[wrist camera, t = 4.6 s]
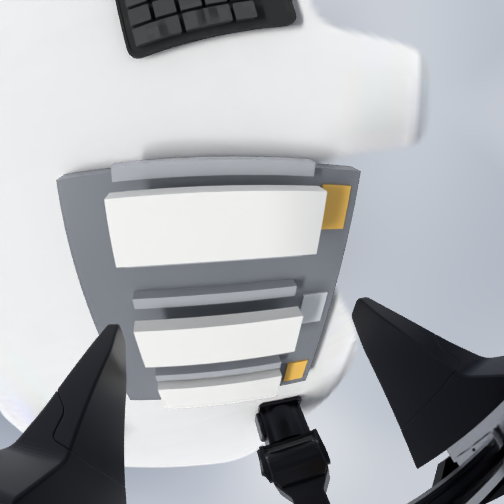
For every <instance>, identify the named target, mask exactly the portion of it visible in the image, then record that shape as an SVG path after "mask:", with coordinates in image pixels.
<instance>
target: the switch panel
mask: <svg viewBox="0 0 504 504" xmlns="http://www.w3.org/2000/svg"><path fill="white" fill-rule="evenodd" d="M359 178H360V171H359V170H357V169H355V168H353V167H350V166H340V165H328V164H316V162H314V161H312V160H310V159H301V158H282V157H235V156H233V157H187V158H168V159H153V160H141V161H130V162H120V163H114V164H113V165H112V166H111V168H107V169H99V170H92V171H84V172H78V173H71V174H65V175H63V176H62V177H60V178H59V179H57V180H56V181H57V188H58V194H59V200H60V205H61V211H62V216H63V221H64V225H65V230H66V234H67V238H68V242H69V246H70V250H71V254H72V258H73V261H74V265H75V268H76V272H77V275H78V278H79V281H80V285H81V288H82V291H83V294H84V297H85V299H86V302H87V305H88V308H89V311H90V313H91V316H92V319H93V321H94V324H95V326H96V329H97V331H98V334H99V335H100V333H101V332H102V331H103V330H104V328H105V327H106V326H107V325H108V324H119V325H120V327H121V330H122V333H123V336H124V339H125V343H126V380H127V385H126V393H127V394H128V396H129V398H130V400H160V399H161V397H160V394H159V392H158V381H170V380H186V379H198V378H209V377H219V376H227V375H235V374H243V373H250V372H257V371H263V370H269V369H275V368H279V369H280V372H281V375H282V378H281V382H280V386H281V385H286V384H291V383H296V382H300V381H305V380H306V378H307V375H308V372H309V369H310V366H311V363H312V361H313V358H314V355H315V352H316V349H317V346H318V343H319V340H320V337H321V333H322V330H323V327H324V324H325V321H326V317H327V314H328V311H329V307H330V304H331V300H332V297H333V293H334V290H335V286H336V282H337V278H338V274H339V271H340V266H341V263H342V259H343V255H344V251H345V246H346V242H347V238H348V233H349V229H350V224H351V219H352V215H353V210H354V205H355V200H356V194H357V189H358V184H359ZM224 185H305V186H320V187H321V188H323V189H324V190H326V191H327V197H326V203H325V209H324V215H323V221H322V227H321V232H320V238H319V243H318V249H317V254H311V255H297V256H283V257H270V258H255V259H241V260H227V261H212V262H197V263H182V264H166V265H151V266H135V267H119V268H116V264H115V259H114V255H113V250H112V245H111V239H110V234H109V228H108V222H107V216H106V209H105V202H104V199H105V198H106V196H107V195H108V194H109V193H112V192H123V191H134V190H146V189H160V188H176V187H195V186H224ZM295 306H298V307H299V309H300V311H301V313H302V314H303V319H302V323H301V327H300V331H299V336H298V340H297V344H296V347H295V351H294V352H289V353H283V354H277V355H271V356H265V357H258V358H251V359H244V360H236V361H228V362H219V363H209V364H198V365H185V366H170V367H147V368H145V365H144V362H143V359H142V356H141V353H140V351H139V348H138V345H137V342H136V338H135V335H134V332H133V331H134V323H135V321H142V320H161V319H177V318H191V317H204V316H215V315H226V314H236V313H246V312H255V311H264V310H272V309H280V308H288V307H295Z"/></svg>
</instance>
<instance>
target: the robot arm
mask: <svg viewBox="0 0 504 504" xmlns="http://www.w3.org/2000/svg"><path fill="white" fill-rule="evenodd" d="M352 319H353V322H354V325H355V327H356V330H357V333H358V335H359V338H360V341H361V343H362V346H363V348H364V351H365V353H366V355H367V357H368V359H369V361H370V363H371V365H372V367H373V369H374V371H375V373H376V376H377V378H378V380H379V382H380V384H381V386H382V388H383V390H384V393H385V395H386V397H387V399H388V401H389V404H390V406H391V408H392V410H393V412H394V415H395V417H396V419H397V422H398V424H399V426H400V429H401V431H402V433H403V436H404V438H405V440H406V443H407V445H408V447H409V450H410V453H411V455H412V458H413V460H414V463H415V465H416V467H417V469H418V468H420V467H421V466H423V465H424V464H426V463H428V462H429V461H430V460H432V459H434V458H435V457H437V456H438V455H439V454H441V453H442V452H444V451H445V450H447V452H448V453H449V455H450V456H448V457H447V458H446V459H445V460H443V461H442V462H440V463H439V464H438V467H437V471H436V474H435V479H434V482H433V486H432V488H430V489H429V490H428V491H426V492H425V493H423V494H422V495H420V496H419V497H418V498H416V499H414V500H412V501H411V502H409V503H408V504H486V503H488V502H490V501H492V500H494V499H497V498H498V497H500V496H502V495H504V356H500V357H494V358H485V357H481V356H478V355H476V354H474V353H472V352H470V351H467V350H465V349H463V348H461V347H459V346H457V345H455V344H453V343H451V342H449V341H447V340H445V339H443V338H441V337H439V336H438V335H435V334H434V333H432V332H430V331H429V330H427V329H425V328H423V327H421V326H419V325H418V324H416V323H414V322H412V321H410V320H408V319H407V318H405V317H403V316H401V315H399V314H397V313H395V312H394V311H392V310H390V309H388V308H386V307H384V306H382V305H381V304H379V303H377V302H375V301H373V300H371V299H369V298H367V297H364V298H359V299H358V300H357V301H356V304H355V307H354V310H353V313H352ZM126 385H127V380H126V343H125V339H124V336H123V333H122V330H121V327H120V325H119V324H108V325H107V326H106V327H105V328H104V330H103V331H102V332H101V333H100V335H99V336H98V337H97V338H96V340H95V341H94V342H93V343H92V345H91V346H90V347H89V349H88V350H87V351H86V352H85V354H84V355H83V356H82V358H81V359H80V360H79V361H78V363H77V364H76V365H75V367H74V368H73V369H72V371H71V372H70V373H69V375H68V376H67V377H66V379H65V380H64V382H63V383H62V384H61V386H60V387H59V388H58V391H56V392H55V394H54V395H53V397H52V398H51V399H50V401H49V402H48V403H47V405H46V406H45V408H44V409H43V410H42V411H41V412H40V414H39V415H38V416H37V417H36V419H35V420H34V421H33V422H32V423H31V424H30V426H29V427H28V428H27V429H26V430H25V431H24V433H23V434H22V435H21V436H20V437H19V439H18V440H17V441H16V442H15V443H14V444H12V445H11V446H9V447H7V448H5V449H1V450H0V504H126V492H125V474H124V422H125V401H126ZM300 402H301V397H295V398H291V399H286V400H281V401H276V402H271V403H266V404H261V405H259V409H258V413H257V414H256V417H255V423H256V426H257V430H258V433H259V437H260V440H261V441H262V442H265V444H266V446H260V447H259V450H258V451H257V453H258V457H259V461H260V466H261V473H262V476H265V477H266V478H267V479H268V480H269V482H270V483H272V482H274V485H275V486H276V488H277V489H278V491H279V492H280V494H281V495H282V496H284V497H285V498H286V499H288V500H289V501H291V502H293V503H294V504H330V502H329V500H328V497H327V495H326V491H327V487H328V484H329V480H330V476H329V469H328V464H330V459H329V456H328V453H327V451H326V448H325V446H324V444H323V442H322V440H321V438H320V436H319V434H318V432H317V430H316V429H313V430H312V431H310V430H309V427H308V425H307V422H306V420H305V417H304V415H303V412H302V410H301V407H300Z"/></svg>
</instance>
